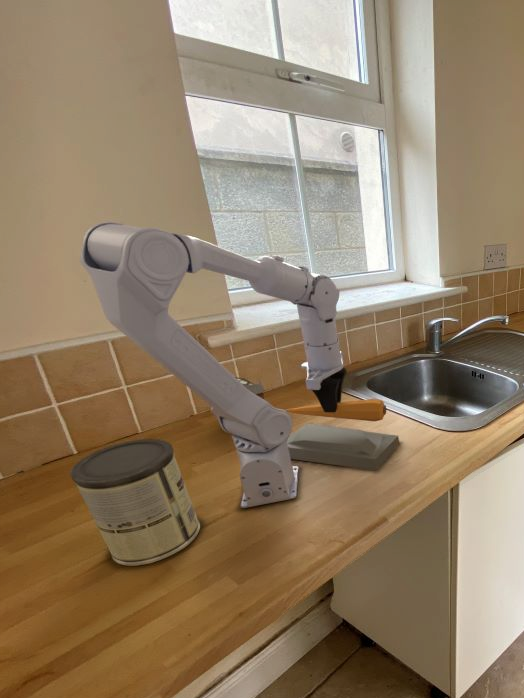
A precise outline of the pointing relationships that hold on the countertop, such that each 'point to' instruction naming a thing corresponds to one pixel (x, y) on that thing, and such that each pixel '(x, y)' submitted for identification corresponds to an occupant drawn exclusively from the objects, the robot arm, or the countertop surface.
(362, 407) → the carrot
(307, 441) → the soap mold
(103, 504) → the coffee can
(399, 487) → the countertop surface
